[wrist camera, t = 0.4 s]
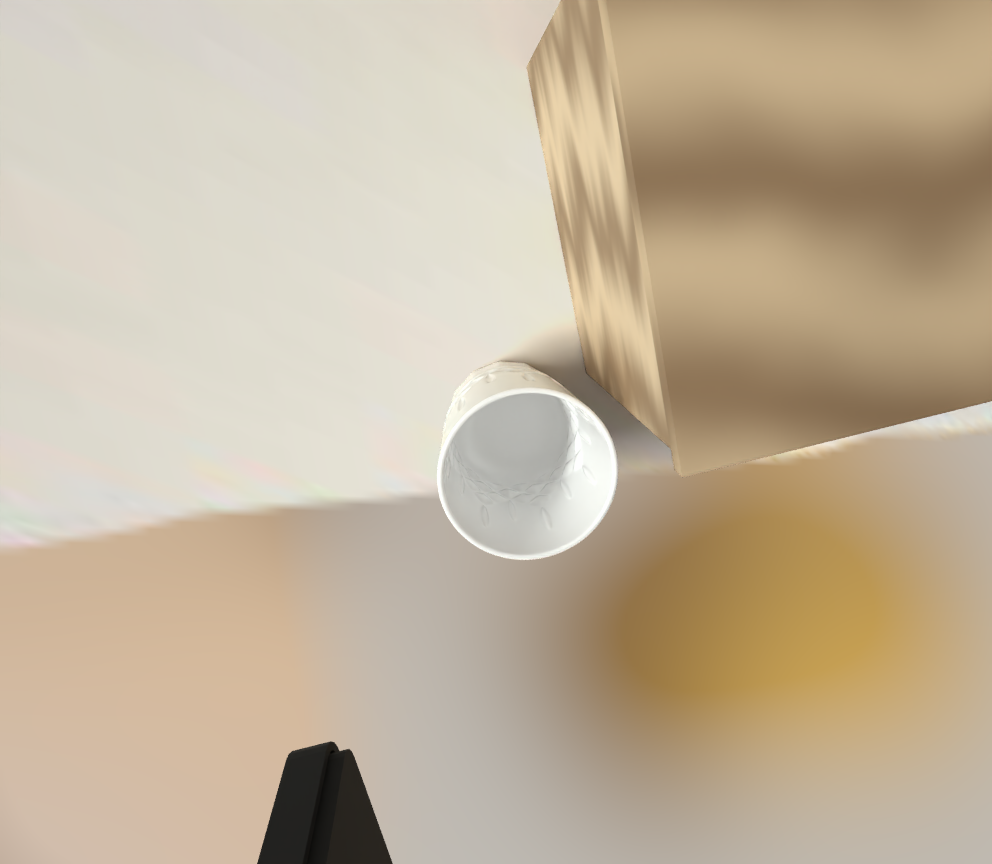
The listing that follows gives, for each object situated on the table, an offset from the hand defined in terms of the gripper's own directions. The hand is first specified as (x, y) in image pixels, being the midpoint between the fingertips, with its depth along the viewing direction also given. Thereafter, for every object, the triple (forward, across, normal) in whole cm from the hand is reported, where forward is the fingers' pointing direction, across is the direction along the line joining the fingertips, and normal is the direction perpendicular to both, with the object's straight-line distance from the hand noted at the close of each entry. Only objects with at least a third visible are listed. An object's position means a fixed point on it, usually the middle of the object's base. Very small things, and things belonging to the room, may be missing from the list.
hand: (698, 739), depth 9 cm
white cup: (+30, 0, +4) cm, 30 cm away
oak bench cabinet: (+30, -12, -6) cm, 33 cm away
